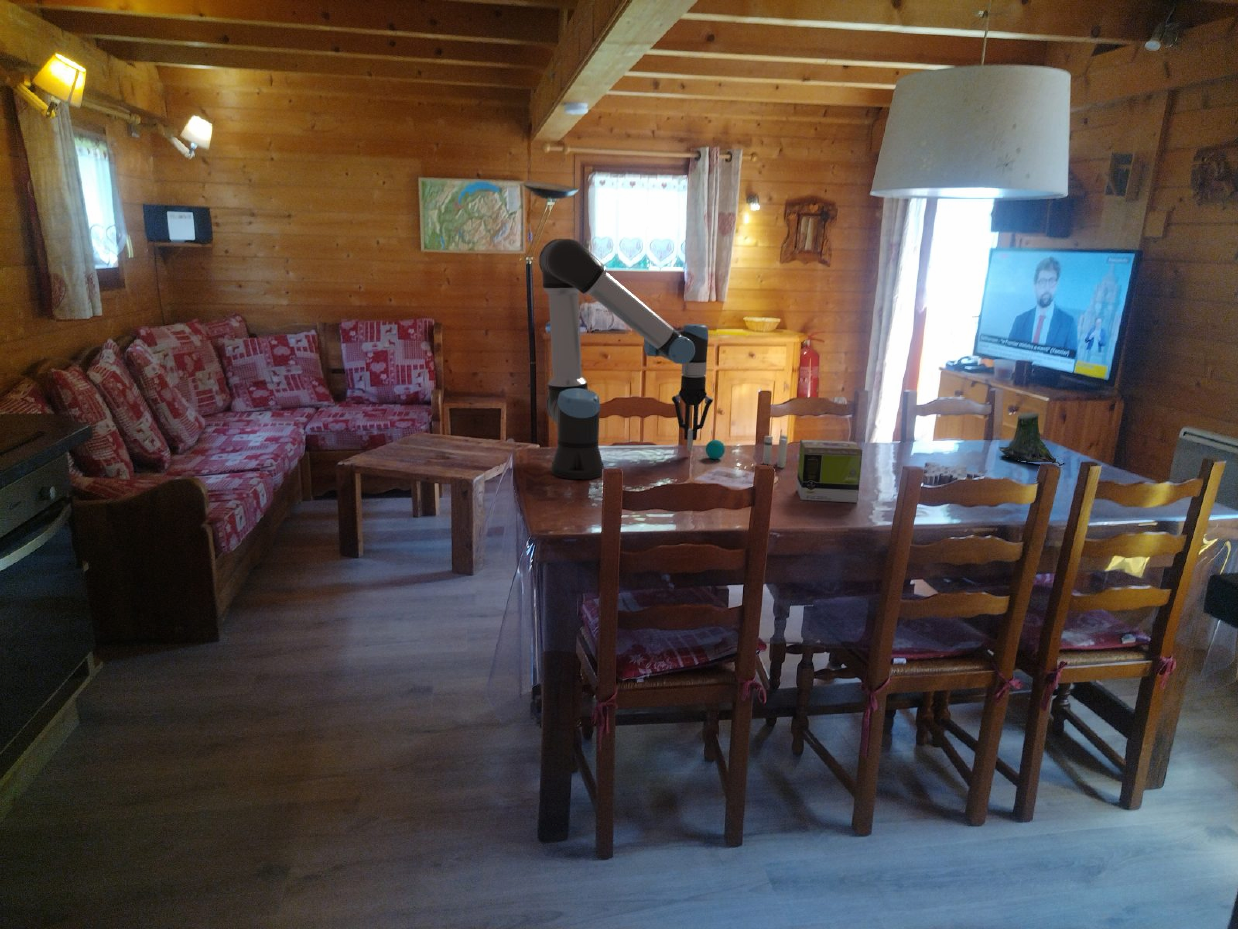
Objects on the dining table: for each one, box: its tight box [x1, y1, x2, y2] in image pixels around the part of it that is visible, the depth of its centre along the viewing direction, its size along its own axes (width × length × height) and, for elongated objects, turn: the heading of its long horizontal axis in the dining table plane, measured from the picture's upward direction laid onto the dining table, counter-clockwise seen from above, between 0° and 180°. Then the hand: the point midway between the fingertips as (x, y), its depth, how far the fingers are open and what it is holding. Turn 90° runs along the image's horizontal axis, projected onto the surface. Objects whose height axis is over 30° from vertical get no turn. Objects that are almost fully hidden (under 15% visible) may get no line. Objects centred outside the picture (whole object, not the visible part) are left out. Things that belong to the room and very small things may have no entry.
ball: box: [705, 439, 726, 460], centre depth 252 cm, size 6×6×6 cm
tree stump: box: [999, 412, 1062, 466], centre depth 264 cm, size 18×20×18 cm
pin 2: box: [776, 438, 788, 469], centre depth 245 cm, size 2×2×8 cm
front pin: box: [762, 435, 773, 465], centre depth 248 cm, size 2×2×8 cm
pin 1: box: [779, 434, 789, 462], centre depth 250 cm, size 2×2×8 cm
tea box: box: [796, 439, 863, 504], centre depth 216 cm, size 15×10×15 cm, turn 84°
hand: (689, 449), depth 254 cm, fingers closed
